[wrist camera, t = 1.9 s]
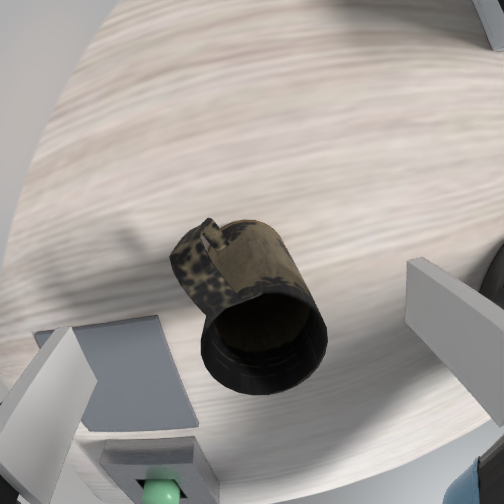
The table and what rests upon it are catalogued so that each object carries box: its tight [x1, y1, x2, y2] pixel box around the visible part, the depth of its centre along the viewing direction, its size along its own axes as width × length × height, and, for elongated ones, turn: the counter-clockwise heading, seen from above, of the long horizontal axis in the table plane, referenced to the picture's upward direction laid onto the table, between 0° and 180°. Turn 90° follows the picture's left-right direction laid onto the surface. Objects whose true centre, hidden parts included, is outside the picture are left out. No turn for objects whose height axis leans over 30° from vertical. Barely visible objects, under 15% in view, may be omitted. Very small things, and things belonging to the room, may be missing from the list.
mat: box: [35, 315, 199, 432], centre depth 25 cm, size 12×12×1 cm
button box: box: [99, 436, 220, 504], centre depth 27 cm, size 10×10×4 cm
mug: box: [170, 218, 328, 395], centre depth 17 cm, size 8×6×12 cm
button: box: [142, 479, 180, 504], centre depth 25 cm, size 4×4×3 cm
